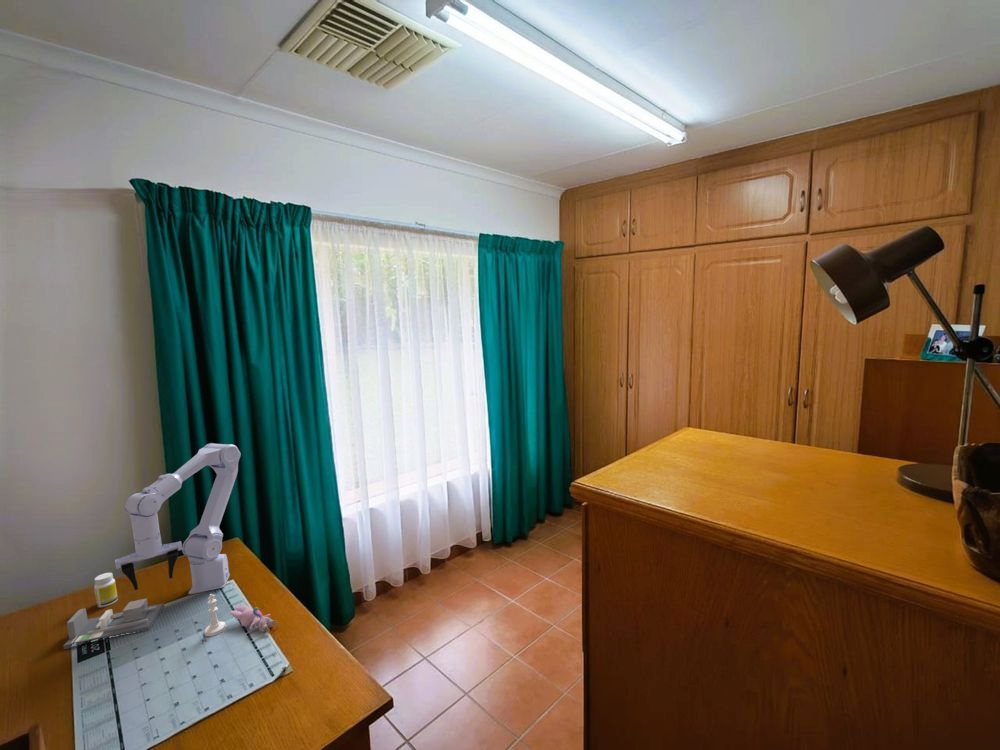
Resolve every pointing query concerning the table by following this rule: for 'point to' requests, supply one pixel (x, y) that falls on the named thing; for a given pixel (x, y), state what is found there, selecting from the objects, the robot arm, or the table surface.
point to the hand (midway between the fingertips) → (153, 582)
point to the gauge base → (87, 630)
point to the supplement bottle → (105, 590)
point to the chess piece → (214, 619)
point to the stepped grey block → (133, 611)
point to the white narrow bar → (105, 619)
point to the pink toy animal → (253, 618)
